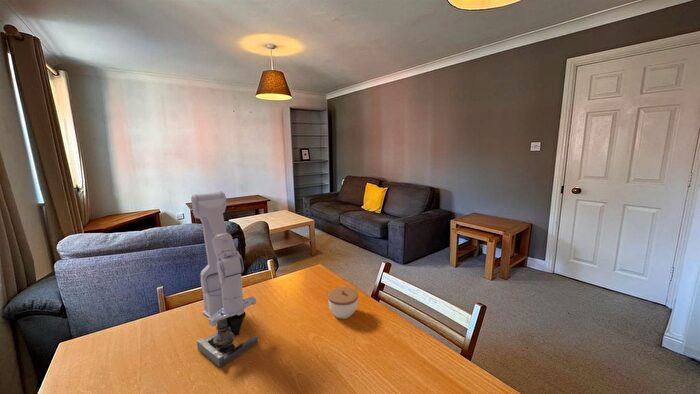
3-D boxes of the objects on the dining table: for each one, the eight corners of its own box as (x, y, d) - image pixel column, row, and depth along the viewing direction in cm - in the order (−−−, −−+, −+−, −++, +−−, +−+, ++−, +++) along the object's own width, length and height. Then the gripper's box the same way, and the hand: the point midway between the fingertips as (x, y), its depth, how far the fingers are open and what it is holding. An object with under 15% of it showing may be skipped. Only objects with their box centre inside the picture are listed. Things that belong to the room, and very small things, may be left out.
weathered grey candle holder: (227, 357, 82) (224, 319, 80) (209, 353, 84) (205, 317, 81) (239, 343, 88) (236, 308, 86) (222, 340, 89) (219, 305, 87)
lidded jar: (358, 306, 108) (359, 283, 106) (356, 324, 97) (356, 299, 95) (330, 304, 109) (330, 281, 107) (325, 322, 98) (325, 297, 97)
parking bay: (197, 349, 85) (196, 340, 85) (235, 327, 95) (235, 319, 95) (219, 368, 78) (218, 358, 78) (258, 342, 88) (257, 334, 88)
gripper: (216, 310, 78) (220, 353, 80) (261, 288, 89) (263, 327, 92) (203, 301, 82) (207, 343, 84) (247, 281, 93) (250, 319, 96)
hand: (235, 334), depth 88 cm, fingers closed
